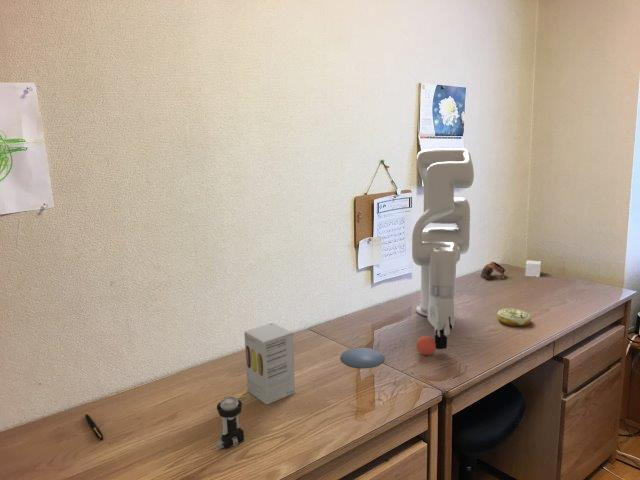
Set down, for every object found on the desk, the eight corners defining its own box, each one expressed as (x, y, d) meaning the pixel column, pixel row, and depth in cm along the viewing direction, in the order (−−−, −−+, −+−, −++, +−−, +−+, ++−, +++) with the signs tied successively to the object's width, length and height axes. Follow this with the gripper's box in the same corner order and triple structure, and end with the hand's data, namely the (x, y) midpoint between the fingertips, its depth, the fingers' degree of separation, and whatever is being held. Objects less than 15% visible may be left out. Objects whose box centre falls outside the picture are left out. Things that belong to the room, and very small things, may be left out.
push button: (223, 456, 101) (219, 413, 99) (209, 445, 105) (206, 403, 103) (249, 442, 105) (246, 400, 103) (235, 432, 109) (232, 392, 107)
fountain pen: (82, 416, 118) (81, 410, 118) (87, 414, 119) (87, 408, 118) (99, 443, 107) (99, 437, 107) (105, 441, 108) (104, 435, 107)
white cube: (540, 273, 225) (541, 261, 224) (539, 277, 220) (540, 264, 218) (526, 272, 228) (526, 260, 226) (525, 275, 222) (526, 263, 221)
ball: (432, 346, 149) (415, 351, 148) (429, 330, 147) (412, 335, 146) (440, 355, 144) (422, 360, 143) (437, 339, 142) (419, 344, 141)
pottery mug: (483, 274, 228) (493, 260, 226) (500, 286, 223) (510, 272, 220) (473, 273, 219) (483, 258, 216) (490, 286, 213) (501, 271, 211)
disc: (338, 349, 150) (337, 349, 150) (379, 347, 151) (379, 346, 151) (344, 369, 137) (344, 368, 137) (389, 366, 139) (389, 365, 138)
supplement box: (246, 391, 127) (242, 330, 124) (275, 379, 133) (272, 321, 129) (266, 405, 120) (263, 342, 116) (296, 392, 126) (294, 331, 122)
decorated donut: (526, 330, 162) (527, 319, 161) (493, 324, 168) (494, 313, 167) (533, 320, 170) (534, 310, 169) (501, 314, 176) (502, 304, 175)
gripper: (421, 282, 149) (420, 338, 153) (438, 298, 134) (437, 359, 138) (444, 281, 150) (443, 337, 154) (464, 296, 135) (462, 357, 139)
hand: (440, 347), depth 146 cm, fingers closed
